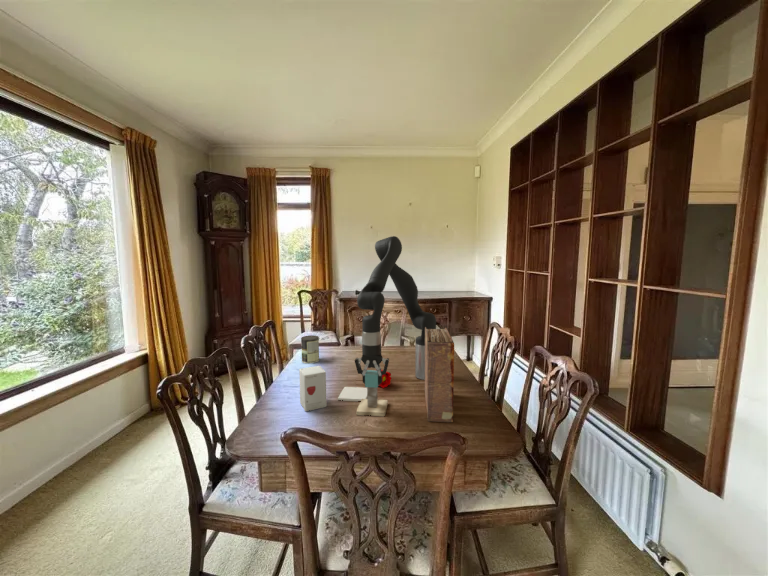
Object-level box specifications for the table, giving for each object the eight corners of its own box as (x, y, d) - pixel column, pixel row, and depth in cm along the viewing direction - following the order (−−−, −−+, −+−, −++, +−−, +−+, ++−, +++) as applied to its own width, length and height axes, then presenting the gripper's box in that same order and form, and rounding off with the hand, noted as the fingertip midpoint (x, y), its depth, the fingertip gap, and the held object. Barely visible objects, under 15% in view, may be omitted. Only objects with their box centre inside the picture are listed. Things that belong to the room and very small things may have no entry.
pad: (370, 390, 145) (370, 387, 145) (365, 401, 133) (365, 399, 133) (344, 388, 146) (344, 386, 146) (337, 400, 135) (337, 398, 134)
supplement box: (304, 412, 125) (303, 375, 123) (299, 403, 133) (298, 368, 131) (327, 407, 129) (326, 371, 127) (321, 398, 137) (320, 364, 135)
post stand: (387, 403, 132) (387, 376, 130) (384, 416, 121) (384, 387, 120) (361, 402, 133) (361, 375, 132) (356, 415, 122) (355, 386, 121)
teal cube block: (379, 382, 128) (379, 370, 127) (377, 387, 123) (377, 375, 123) (367, 382, 129) (367, 370, 128) (365, 387, 124) (364, 374, 123)
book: (424, 392, 142) (424, 327, 139) (445, 393, 141) (446, 327, 138) (427, 422, 116) (428, 342, 114) (453, 422, 116) (454, 342, 113)
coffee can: (298, 363, 183) (298, 339, 182) (305, 357, 193) (304, 335, 192) (315, 363, 182) (315, 339, 180) (321, 358, 192) (321, 335, 191)
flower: (382, 369, 157) (393, 373, 151) (378, 385, 155) (389, 389, 149) (371, 366, 152) (382, 370, 146) (366, 382, 150) (377, 387, 144)
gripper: (390, 340, 127) (391, 380, 129) (355, 339, 129) (356, 379, 130) (388, 345, 120) (389, 388, 121) (351, 344, 121) (352, 387, 123)
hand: (372, 383), depth 126 cm, fingers closed on teal cube block, 5 cm apart
